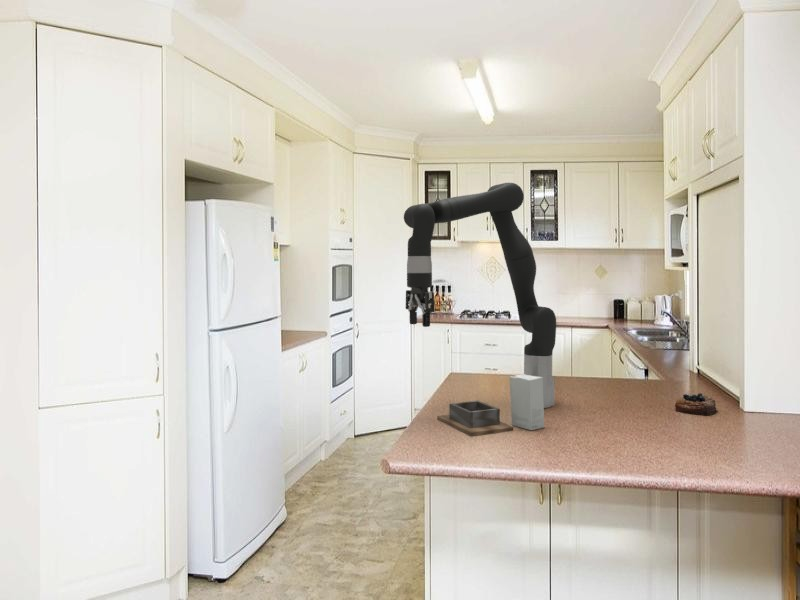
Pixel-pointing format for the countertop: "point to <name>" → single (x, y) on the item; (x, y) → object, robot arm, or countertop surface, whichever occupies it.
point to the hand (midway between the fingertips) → (419, 325)
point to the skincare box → (527, 401)
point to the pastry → (696, 405)
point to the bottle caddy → (475, 418)
